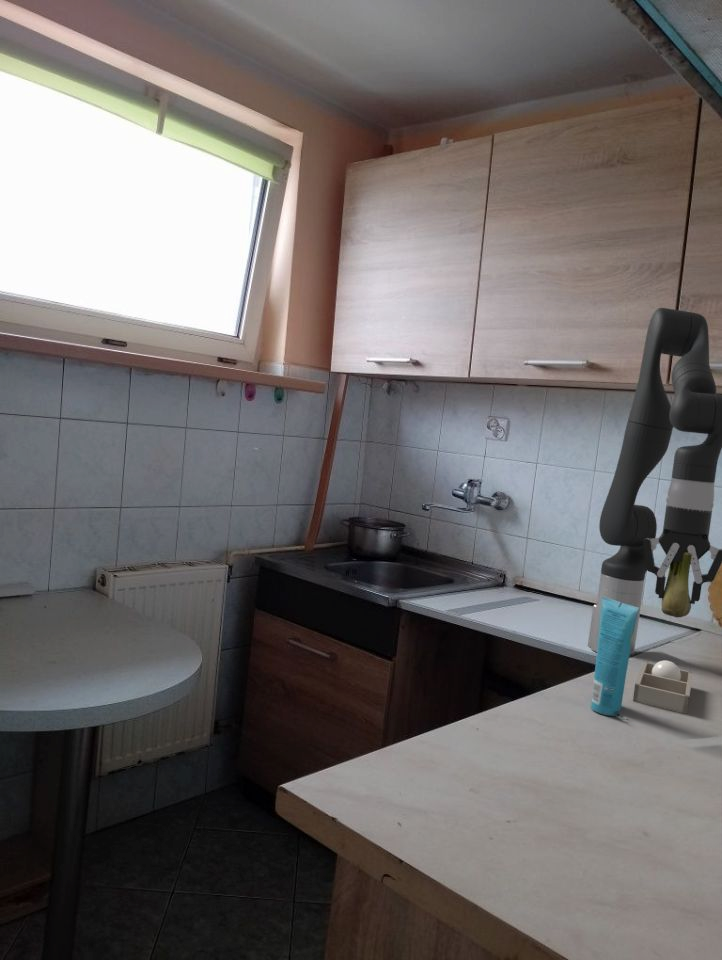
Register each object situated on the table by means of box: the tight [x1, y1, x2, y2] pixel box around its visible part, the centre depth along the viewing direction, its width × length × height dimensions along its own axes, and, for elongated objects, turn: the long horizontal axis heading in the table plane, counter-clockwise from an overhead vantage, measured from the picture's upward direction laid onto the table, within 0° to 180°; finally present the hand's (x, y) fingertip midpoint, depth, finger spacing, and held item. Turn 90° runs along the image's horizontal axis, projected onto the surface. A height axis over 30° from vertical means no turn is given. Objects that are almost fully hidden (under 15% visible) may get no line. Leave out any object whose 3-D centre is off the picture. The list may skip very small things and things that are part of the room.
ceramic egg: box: [652, 660, 681, 681], centre depth 144 cm, size 5×5×5 cm
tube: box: [590, 597, 639, 717], centre depth 130 cm, size 7×5×19 cm, turn 39°
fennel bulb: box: [660, 552, 692, 618], centre depth 135 cm, size 6×5×12 cm
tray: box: [632, 661, 693, 715], centre depth 140 cm, size 17×9×4 cm, turn 154°
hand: (676, 599), depth 135 cm, fingers closed on fennel bulb, 4 cm apart
